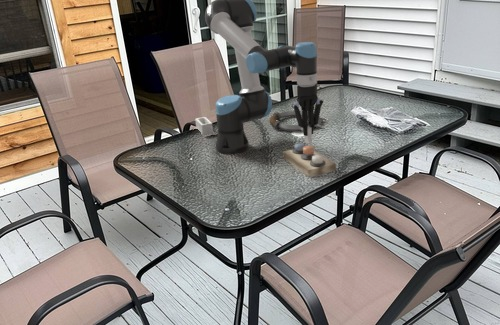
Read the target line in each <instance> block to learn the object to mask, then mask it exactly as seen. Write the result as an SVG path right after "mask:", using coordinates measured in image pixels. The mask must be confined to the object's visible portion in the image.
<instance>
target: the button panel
mask: <svg viewBox="0 0 500 325" xmlns="http://www.w3.org/2000/svg"><path fill="white" fill-rule="evenodd" d="M282 154H283V159H284V160H285V161H287V162H288V163H290V164H291V165H292V166H293V167H294V168H296V169H297V170H298V171H300V172H301V173H302V174H303V175H305V176H306V177H308V178H312V177H316V176H320V175H324V173H325V174H328V172H329V173H332V171H333V172H336V171H335V170H337V164H336V163H335V162H333V161H332V160H330V159H329V158H328V157H326V156H325V155H323V154H322V153H320V152H318V151H317V150H315V149H314V153H313V154H309V155H308V154H304V153H303V151H295V147H294V148H293V149H287V150H284V151H283V153H282ZM314 155H322V156H323V163H321V164H314V163H312V156H314Z"/></svg>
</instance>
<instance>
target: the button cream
mask: <svg viewBox="0 0 500 325" xmlns="http://www.w3.org/2000/svg"><path fill="white" fill-rule="evenodd" d="M322 155H323V154H322ZM322 155H314V156H312V163H314V164H321V163H323V156H324V155H323V156H322Z"/></svg>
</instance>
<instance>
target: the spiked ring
mask: <svg viewBox="0 0 500 325" xmlns="http://www.w3.org/2000/svg"><path fill="white" fill-rule="evenodd" d="M300 113H301V116H302V110H300ZM289 116H294V117H296V115H295V111H294V110H288V111H282V112H276V111H275V112H274V113H273V114H272V115H271V116H270V118H269V121H268V122H269V123H270V126H272V127H273V128H274V130H276V131H280V130H282V131H287V132H303V128H302V127H300V126H298V124H287V123H286V124H285V123H283V122H282V121H281V119H283V118H290V117H289ZM276 120H279V121H276ZM323 120H325V121H328V119H327V118H322V117H320V116H319V120H318V124H317V125H314V126H315V127H319V128H324V126H323V125H321V124H322V122H324V121H323ZM308 126H309V125H308ZM279 129H280V130H279Z"/></svg>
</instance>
